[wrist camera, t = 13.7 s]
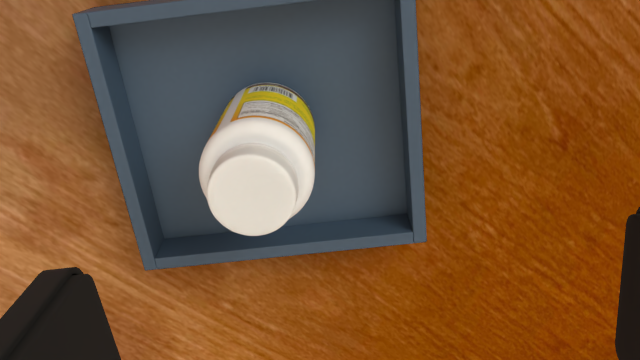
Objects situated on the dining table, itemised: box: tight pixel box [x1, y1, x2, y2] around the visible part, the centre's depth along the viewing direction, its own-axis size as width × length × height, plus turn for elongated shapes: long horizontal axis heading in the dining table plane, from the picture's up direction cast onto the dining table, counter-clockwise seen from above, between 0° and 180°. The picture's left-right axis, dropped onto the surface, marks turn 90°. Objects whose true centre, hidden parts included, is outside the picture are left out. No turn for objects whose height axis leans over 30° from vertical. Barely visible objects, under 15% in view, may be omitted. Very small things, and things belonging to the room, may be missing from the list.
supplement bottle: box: [199, 83, 315, 236], centre depth 29 cm, size 6×6×10 cm
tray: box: [73, 0, 427, 270], centre depth 33 cm, size 18×16×3 cm
